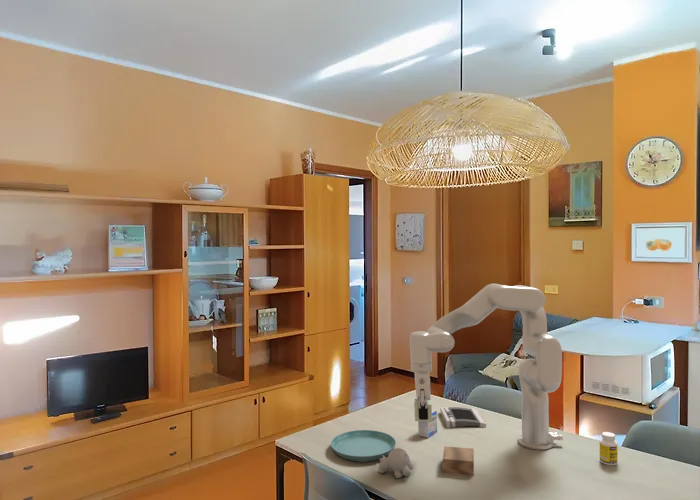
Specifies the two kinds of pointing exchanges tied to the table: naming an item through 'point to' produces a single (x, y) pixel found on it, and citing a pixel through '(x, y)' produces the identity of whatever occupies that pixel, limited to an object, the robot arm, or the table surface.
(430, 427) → the medicine box
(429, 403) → the sage cube
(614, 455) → the supplement bottle
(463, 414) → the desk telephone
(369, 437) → the teal plate
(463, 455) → the walnut block
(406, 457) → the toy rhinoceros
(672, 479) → the table surface
